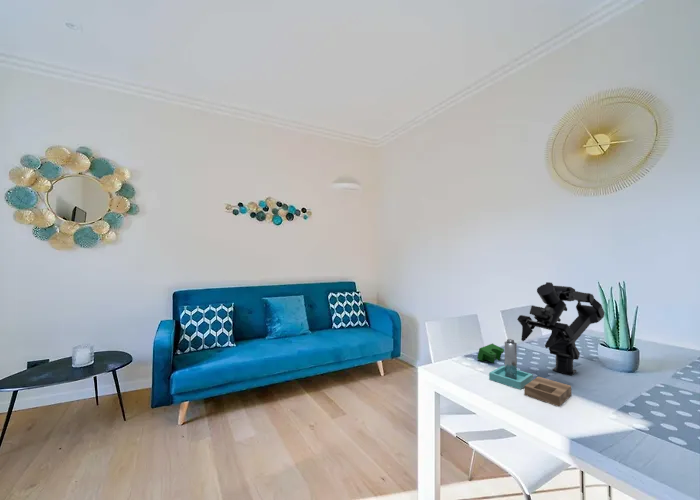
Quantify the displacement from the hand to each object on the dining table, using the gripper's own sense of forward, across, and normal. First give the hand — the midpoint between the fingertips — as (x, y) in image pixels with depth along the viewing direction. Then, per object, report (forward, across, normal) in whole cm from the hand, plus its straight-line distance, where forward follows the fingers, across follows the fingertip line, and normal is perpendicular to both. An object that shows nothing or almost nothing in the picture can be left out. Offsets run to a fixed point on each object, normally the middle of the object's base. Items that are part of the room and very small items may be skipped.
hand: (533, 343), depth 112 cm
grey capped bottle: (+14, -4, +3) cm, 15 cm away
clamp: (+8, -22, +12) cm, 26 cm away
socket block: (+14, +10, +5) cm, 18 cm away
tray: (+15, -4, +4) cm, 16 cm away
